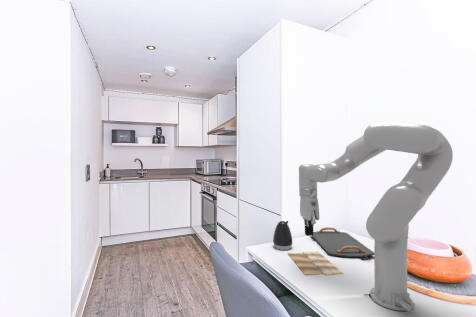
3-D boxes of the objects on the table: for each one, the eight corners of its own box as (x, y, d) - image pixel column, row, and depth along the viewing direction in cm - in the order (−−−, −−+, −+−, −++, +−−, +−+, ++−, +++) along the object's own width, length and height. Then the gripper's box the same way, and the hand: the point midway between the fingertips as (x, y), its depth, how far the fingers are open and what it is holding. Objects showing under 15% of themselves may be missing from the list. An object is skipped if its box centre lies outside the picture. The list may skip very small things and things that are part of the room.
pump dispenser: (296, 249, 129) (296, 220, 129) (285, 254, 122) (285, 224, 122) (280, 244, 136) (279, 217, 136) (269, 249, 129) (269, 221, 128)
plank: (323, 276, 99) (323, 274, 99) (304, 277, 98) (304, 274, 98) (303, 255, 121) (303, 252, 121) (287, 255, 120) (287, 253, 120)
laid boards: (344, 276, 99) (344, 273, 99) (325, 278, 98) (325, 275, 98) (318, 253, 123) (318, 251, 123) (302, 254, 122) (302, 252, 122)
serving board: (379, 262, 114) (379, 248, 114) (330, 262, 114) (330, 249, 114) (344, 235, 152) (344, 225, 152) (307, 235, 153) (307, 225, 153)
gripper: (324, 194, 98) (325, 240, 98) (308, 190, 113) (309, 229, 113) (307, 195, 97) (308, 241, 97) (293, 191, 112) (294, 230, 111)
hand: (309, 234), depth 105 cm, fingers closed
